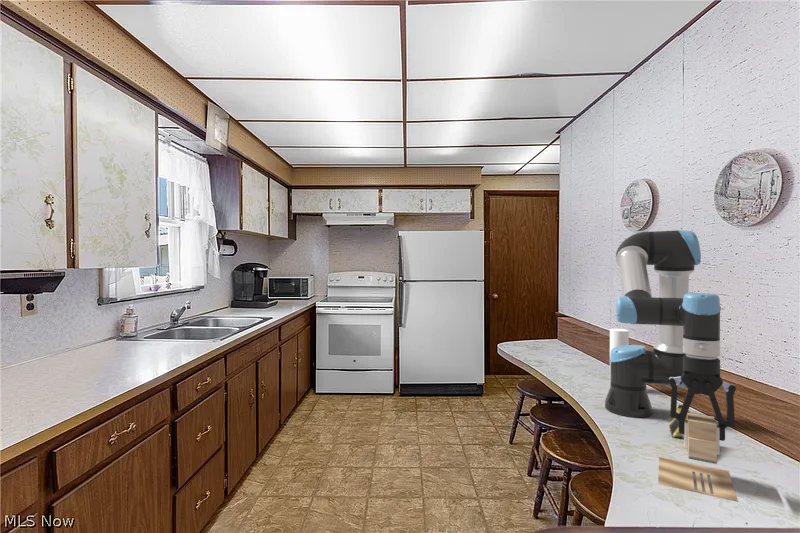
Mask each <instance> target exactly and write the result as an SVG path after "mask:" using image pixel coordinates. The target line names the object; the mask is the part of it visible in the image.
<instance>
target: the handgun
mask: <svg viewBox="0 0 800 533" xmlns="http://www.w3.org/2000/svg"><path fill="white" fill-rule="evenodd" d="M682 405H683V404H679V405H677V406H678V407H677V409H676V412H677V413H680V411H681V408H682ZM688 413H691V412H690V409H689V410H688ZM685 419H686V420H687V415H686V418H685ZM668 428H669V433H670V435H671V438H672V439H676V440H683V438H684V434H680V433H679V421H678V419H676V418H672V420H671V421H670V422H669V423H668Z"/></svg>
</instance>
